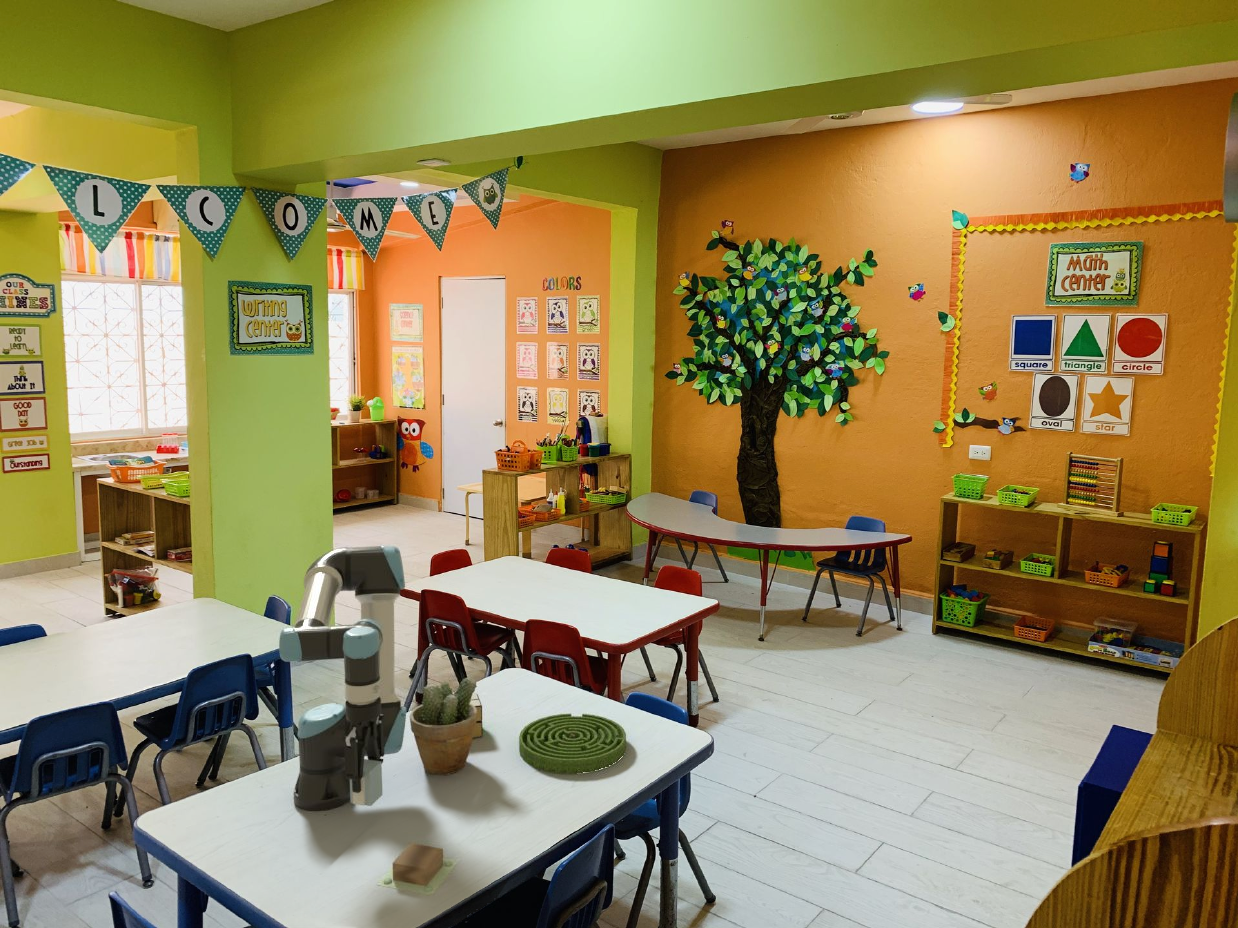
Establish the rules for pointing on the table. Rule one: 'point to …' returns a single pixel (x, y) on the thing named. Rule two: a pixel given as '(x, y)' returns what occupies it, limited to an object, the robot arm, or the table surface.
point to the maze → (572, 743)
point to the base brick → (418, 864)
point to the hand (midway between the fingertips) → (366, 797)
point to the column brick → (371, 781)
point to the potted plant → (445, 726)
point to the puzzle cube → (477, 704)
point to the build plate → (428, 889)
